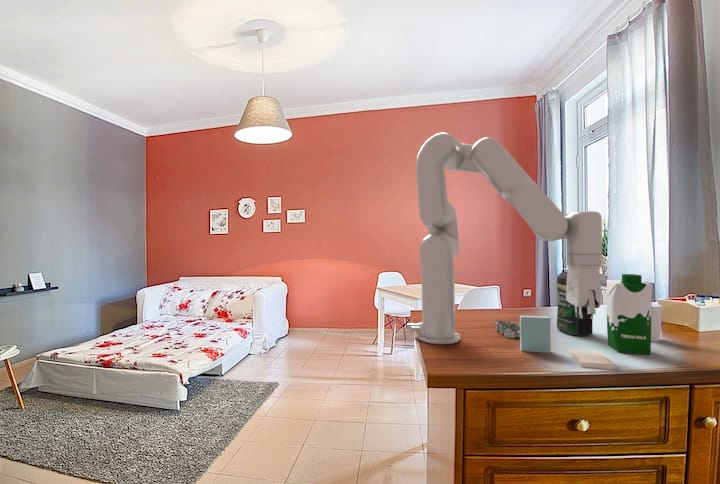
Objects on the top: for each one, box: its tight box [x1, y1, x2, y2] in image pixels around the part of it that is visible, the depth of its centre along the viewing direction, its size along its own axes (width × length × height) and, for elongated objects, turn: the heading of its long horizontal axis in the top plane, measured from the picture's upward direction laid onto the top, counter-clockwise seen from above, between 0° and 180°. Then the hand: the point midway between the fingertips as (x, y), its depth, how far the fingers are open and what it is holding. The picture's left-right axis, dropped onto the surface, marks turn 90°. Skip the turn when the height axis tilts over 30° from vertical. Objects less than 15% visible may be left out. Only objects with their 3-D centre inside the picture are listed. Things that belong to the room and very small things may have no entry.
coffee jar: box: [556, 272, 589, 337], centre depth 108 cm, size 10×8×19 cm
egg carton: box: [494, 319, 520, 339], centre depth 107 cm, size 10×7×4 cm
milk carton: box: [606, 273, 653, 356], centre depth 91 cm, size 9×9×20 cm
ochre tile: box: [567, 349, 617, 370], centre depth 83 cm, size 7×2×9 cm
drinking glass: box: [651, 302, 663, 343], centre depth 101 cm, size 7×7×10 cm
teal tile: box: [519, 315, 552, 354], centre depth 91 cm, size 7×2×9 cm, turn 76°
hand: (584, 333), depth 87 cm, fingers closed
